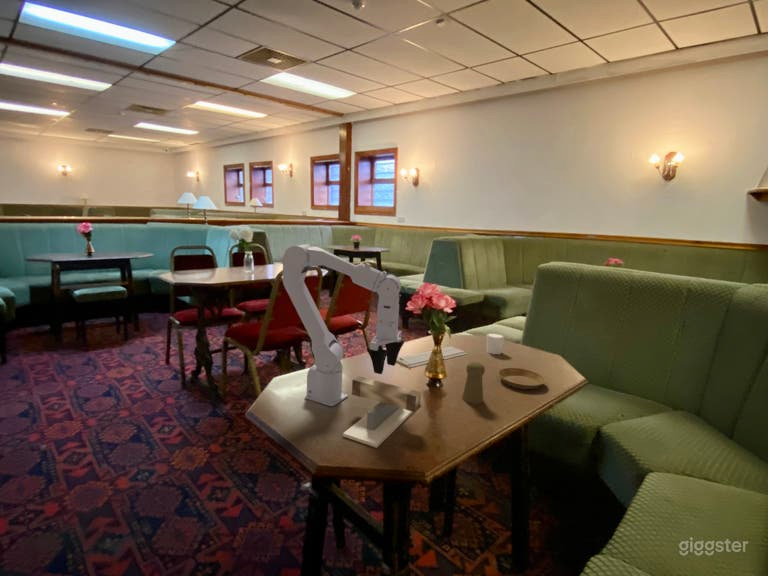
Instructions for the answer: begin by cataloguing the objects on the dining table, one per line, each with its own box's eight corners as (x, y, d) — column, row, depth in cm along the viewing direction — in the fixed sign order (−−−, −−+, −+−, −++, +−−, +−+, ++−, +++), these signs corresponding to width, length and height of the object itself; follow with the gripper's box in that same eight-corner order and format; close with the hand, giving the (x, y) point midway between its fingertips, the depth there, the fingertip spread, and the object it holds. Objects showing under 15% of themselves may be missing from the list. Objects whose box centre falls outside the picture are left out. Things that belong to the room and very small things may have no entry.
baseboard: (469, 356, 162) (450, 349, 170) (470, 349, 162) (451, 343, 170) (411, 371, 144) (393, 362, 151) (412, 363, 143) (393, 355, 151)
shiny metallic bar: (419, 407, 104) (421, 392, 104) (414, 412, 102) (416, 396, 101) (357, 390, 112) (358, 376, 112) (351, 394, 110) (352, 379, 109)
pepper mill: (486, 398, 123) (489, 363, 121) (478, 405, 118) (482, 369, 117) (467, 393, 127) (470, 358, 125) (458, 399, 122) (462, 363, 120)
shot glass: (486, 354, 165) (488, 337, 163) (483, 348, 171) (485, 332, 170) (504, 355, 164) (506, 338, 163) (500, 350, 171) (502, 333, 170)
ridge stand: (342, 436, 98) (343, 416, 97) (391, 396, 121) (392, 380, 120) (376, 447, 94) (377, 427, 93) (420, 404, 117) (421, 387, 116)
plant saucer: (551, 384, 138) (552, 376, 138) (534, 397, 127) (535, 389, 127) (508, 371, 148) (509, 364, 147) (489, 382, 137) (490, 375, 136)
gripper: (388, 328, 104) (385, 380, 106) (412, 317, 116) (409, 364, 119) (363, 324, 107) (361, 374, 109) (389, 313, 120) (387, 359, 122)
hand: (384, 368), depth 114 cm, fingers open, 7 cm apart
